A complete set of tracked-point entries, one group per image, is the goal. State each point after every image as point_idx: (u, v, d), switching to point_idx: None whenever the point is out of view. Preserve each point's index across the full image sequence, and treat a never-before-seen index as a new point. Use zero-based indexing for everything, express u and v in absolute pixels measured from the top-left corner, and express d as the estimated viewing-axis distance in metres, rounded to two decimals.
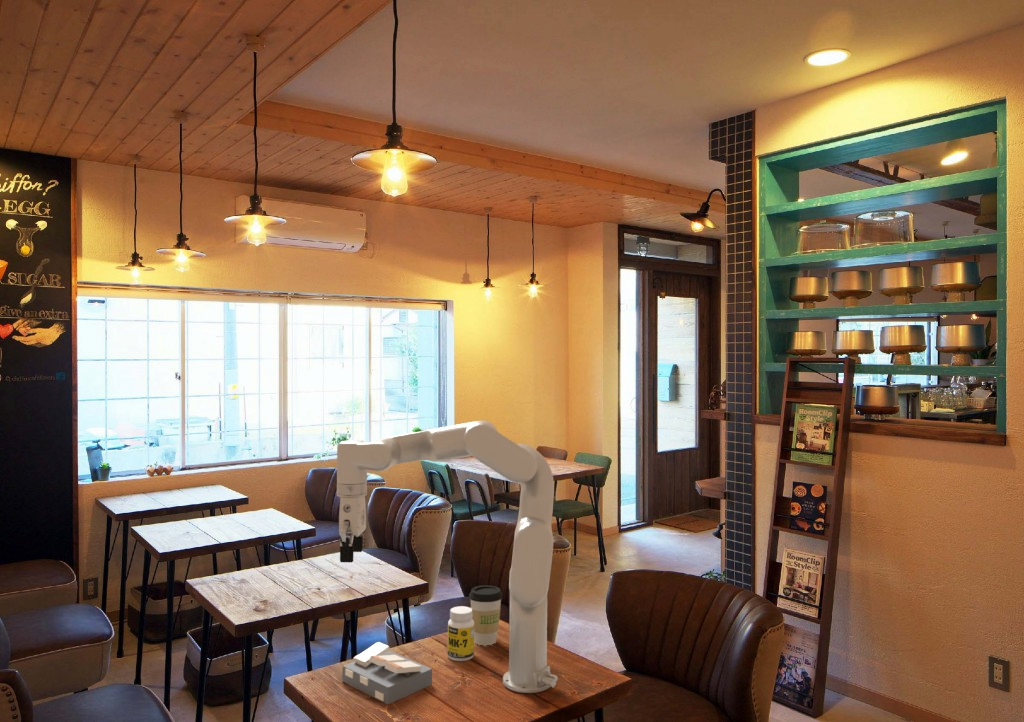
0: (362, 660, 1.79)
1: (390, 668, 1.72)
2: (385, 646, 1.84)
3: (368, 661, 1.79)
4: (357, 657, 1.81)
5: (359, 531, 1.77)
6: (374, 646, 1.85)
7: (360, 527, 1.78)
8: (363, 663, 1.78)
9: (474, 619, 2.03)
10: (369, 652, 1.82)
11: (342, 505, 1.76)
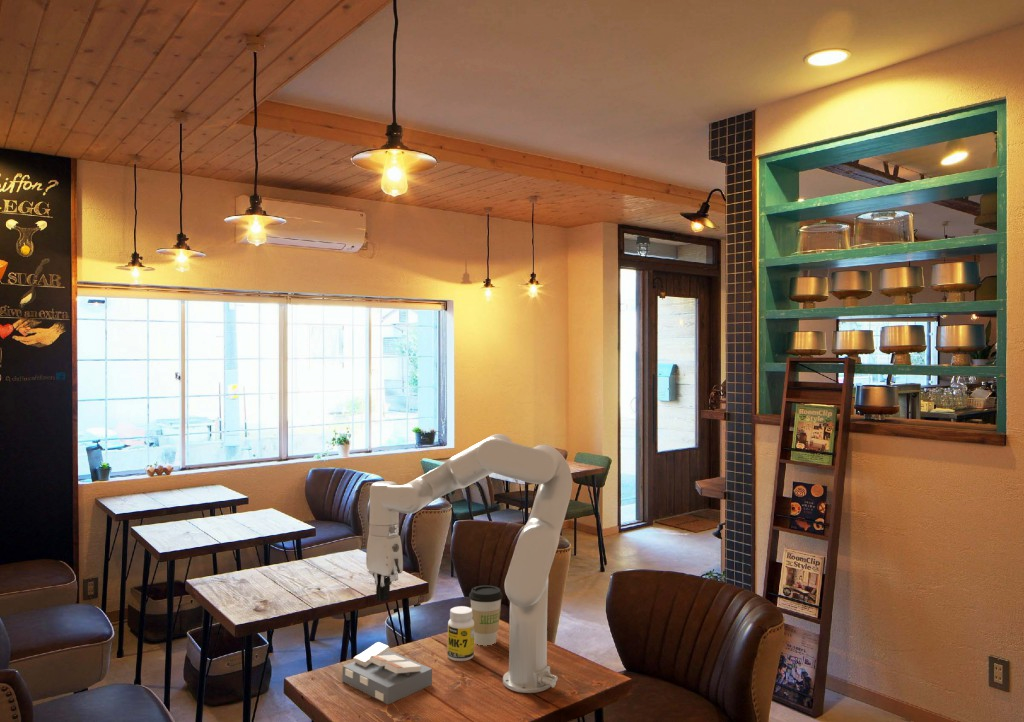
0: (362, 660, 1.79)
1: (390, 668, 1.72)
2: (385, 646, 1.84)
3: (368, 661, 1.79)
4: (357, 657, 1.81)
5: None
6: (374, 646, 1.85)
7: None
8: (363, 663, 1.78)
9: (474, 619, 2.03)
10: (369, 652, 1.82)
11: (391, 545, 1.81)
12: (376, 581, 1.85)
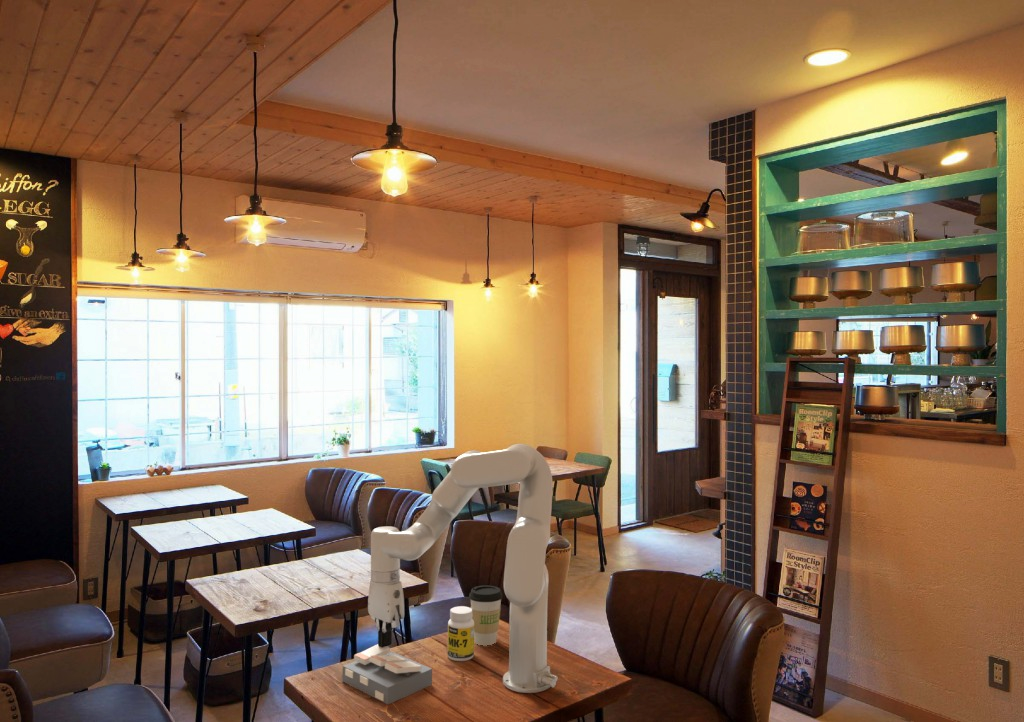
0: (363, 657, 1.79)
1: (390, 668, 1.72)
2: (386, 647, 1.84)
3: (368, 659, 1.79)
4: (357, 655, 1.81)
5: None
6: (375, 647, 1.85)
7: None
8: (363, 661, 1.78)
9: (474, 619, 2.03)
10: (370, 652, 1.82)
11: (392, 592, 1.82)
12: (378, 627, 1.86)
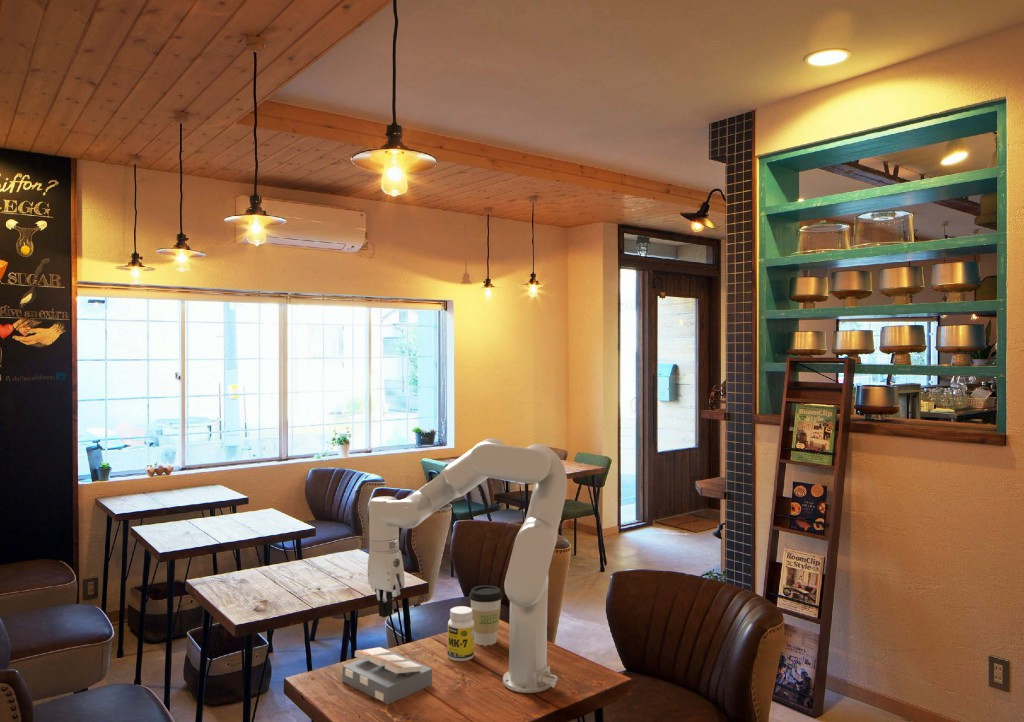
0: (364, 653, 1.79)
1: (390, 668, 1.72)
2: (387, 651, 1.84)
3: (369, 656, 1.79)
4: (359, 651, 1.81)
5: None
6: (376, 648, 1.85)
7: None
8: (364, 656, 1.79)
9: (474, 619, 2.03)
10: (371, 651, 1.83)
11: (392, 561, 1.81)
12: (378, 597, 1.85)
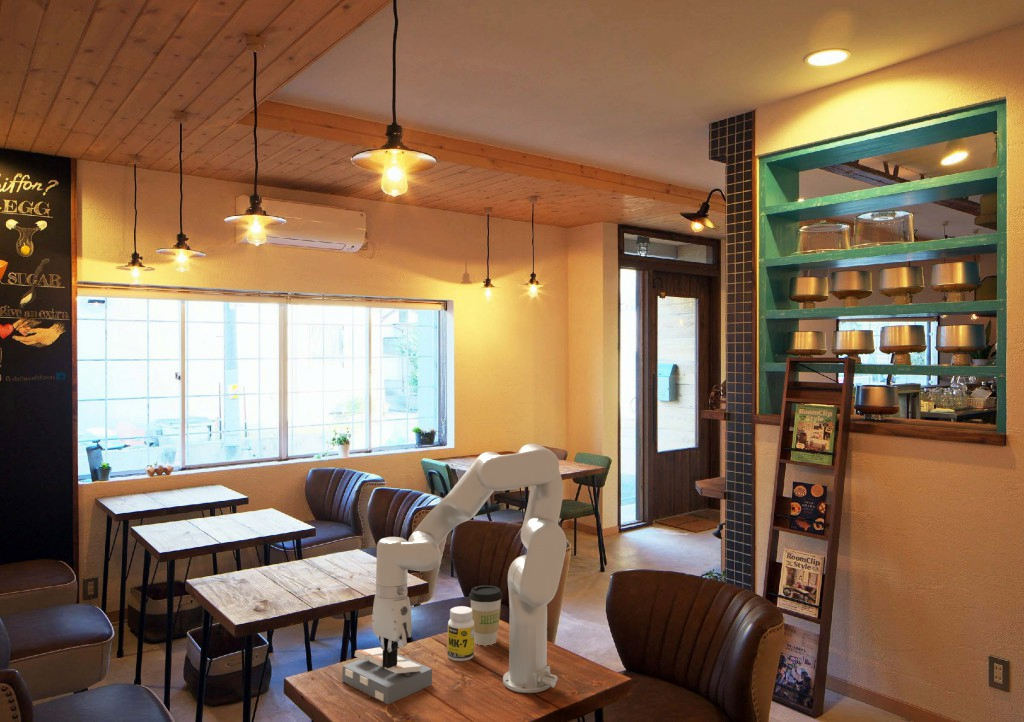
0: (364, 653, 1.79)
1: (390, 668, 1.72)
2: None
3: (369, 656, 1.79)
4: (359, 651, 1.81)
5: None
6: (376, 649, 1.85)
7: None
8: (364, 656, 1.79)
9: (474, 619, 2.03)
10: (371, 651, 1.83)
11: (399, 608, 1.68)
12: (382, 645, 1.72)
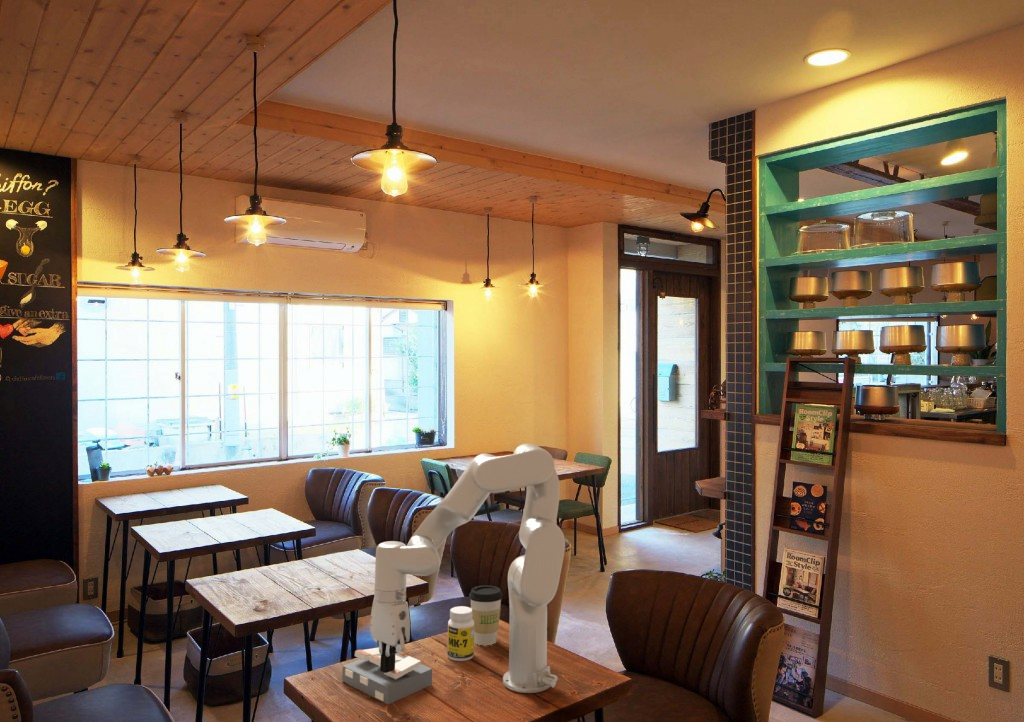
0: (364, 653, 1.79)
1: (389, 674, 1.72)
2: None
3: (369, 656, 1.79)
4: (359, 651, 1.81)
5: None
6: (376, 649, 1.85)
7: None
8: (364, 656, 1.79)
9: (474, 619, 2.03)
10: (371, 651, 1.83)
11: (397, 613, 1.68)
12: (381, 650, 1.72)
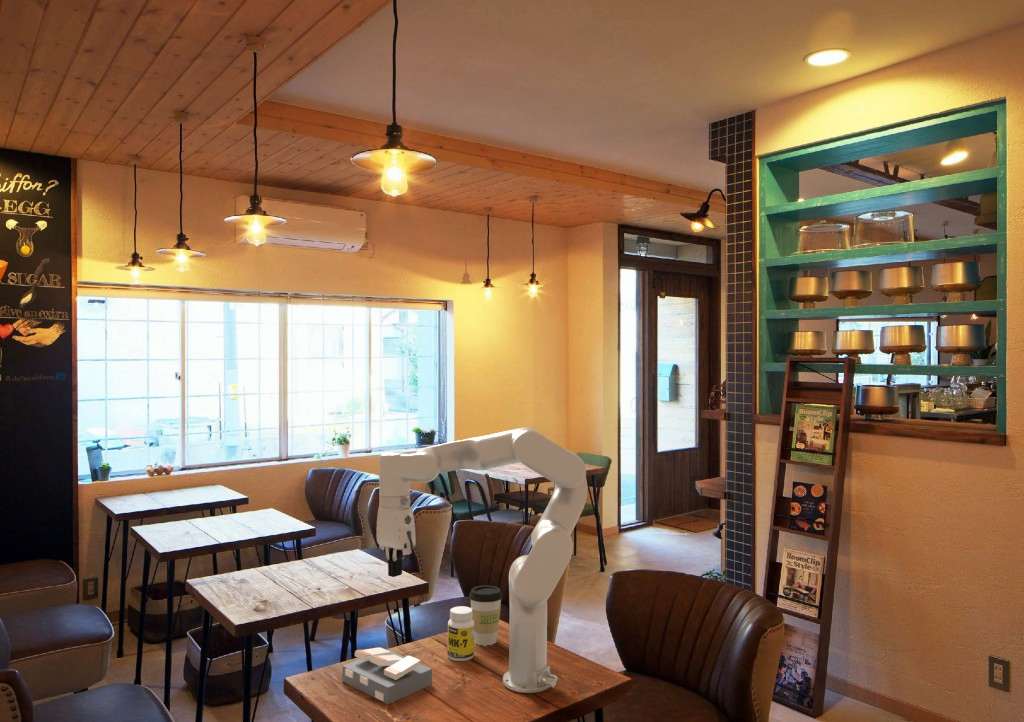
0: (364, 653, 1.79)
1: (389, 675, 1.72)
2: (387, 651, 1.84)
3: (369, 656, 1.79)
4: (359, 651, 1.81)
5: None
6: (376, 649, 1.85)
7: None
8: (364, 656, 1.79)
9: (474, 619, 2.03)
10: (371, 651, 1.83)
11: (403, 517, 1.73)
12: (388, 556, 1.77)
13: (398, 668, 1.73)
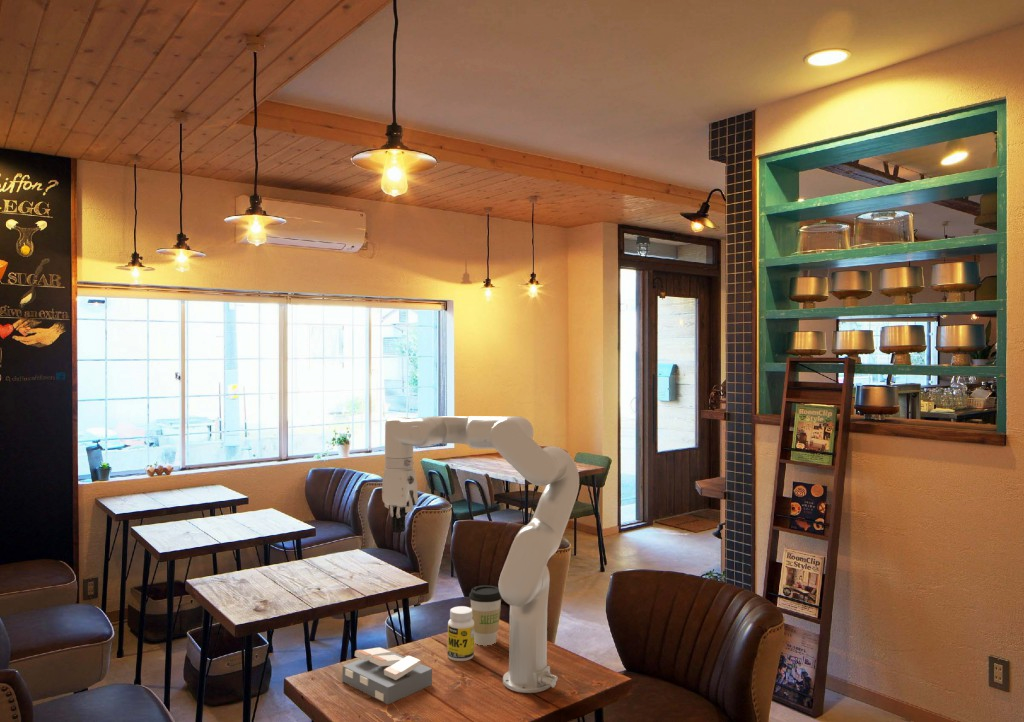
0: (364, 653, 1.79)
1: (389, 675, 1.72)
2: (387, 651, 1.84)
3: (369, 656, 1.79)
4: (359, 651, 1.81)
5: None
6: (376, 649, 1.85)
7: None
8: (364, 656, 1.79)
9: (474, 619, 2.03)
10: (371, 651, 1.83)
11: (406, 477, 1.88)
12: (392, 513, 1.91)
13: (398, 668, 1.73)
